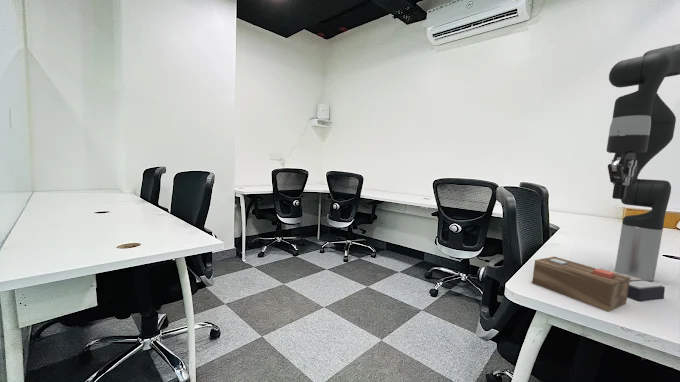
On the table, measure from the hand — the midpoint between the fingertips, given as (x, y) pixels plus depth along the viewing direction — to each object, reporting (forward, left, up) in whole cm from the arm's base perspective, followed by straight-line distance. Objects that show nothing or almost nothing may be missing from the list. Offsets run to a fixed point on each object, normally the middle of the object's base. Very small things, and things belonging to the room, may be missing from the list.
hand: (618, 198), depth 74 cm
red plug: (+8, +2, -26) cm, 27 cm away
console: (+8, -3, -27) cm, 28 cm away
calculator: (-10, 0, -28) cm, 29 cm away
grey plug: (+8, -8, -27) cm, 29 cm away
